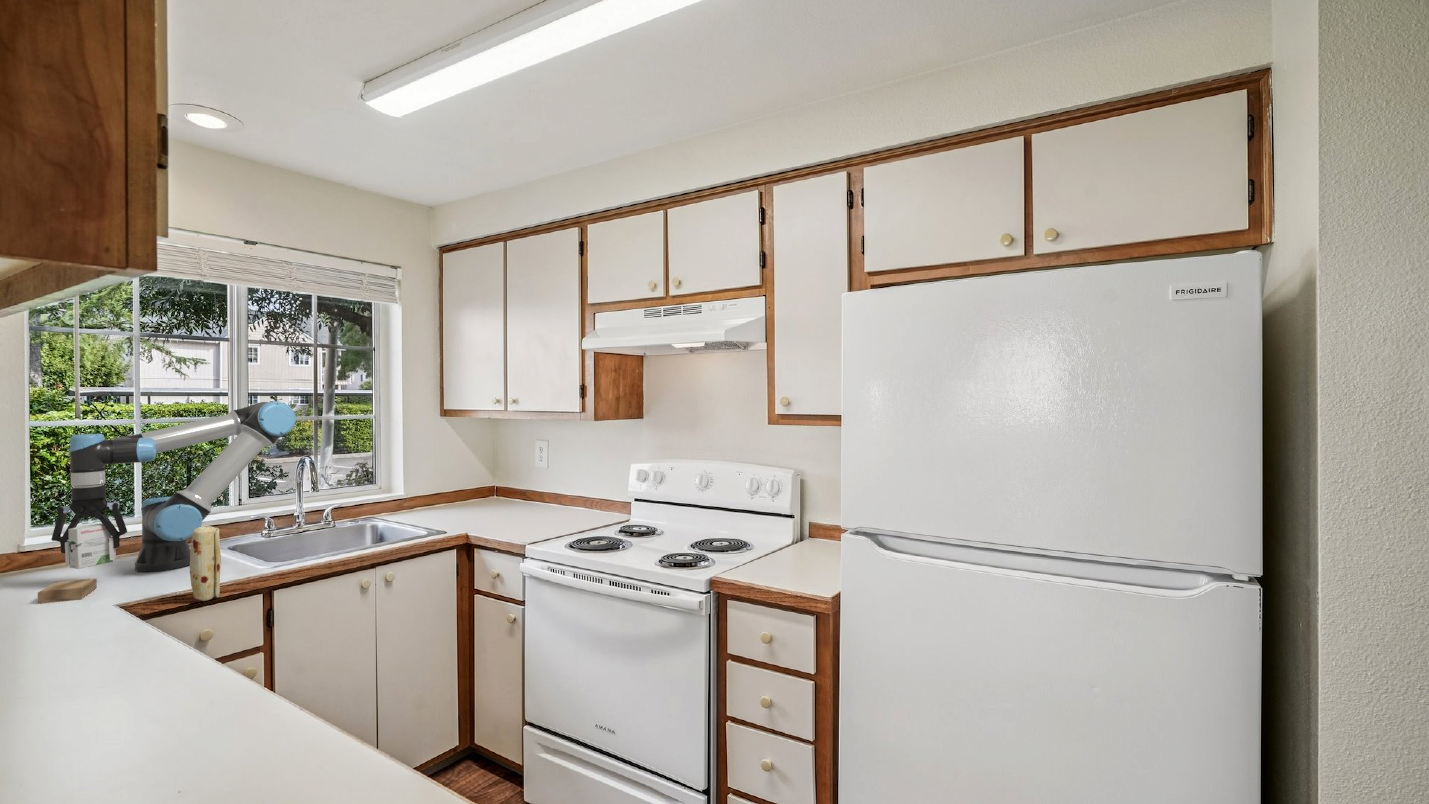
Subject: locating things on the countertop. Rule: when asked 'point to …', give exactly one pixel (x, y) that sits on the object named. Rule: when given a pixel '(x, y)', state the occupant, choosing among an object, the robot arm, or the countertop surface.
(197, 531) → the food model
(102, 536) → the ink box
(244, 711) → the countertop surface
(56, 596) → the base
